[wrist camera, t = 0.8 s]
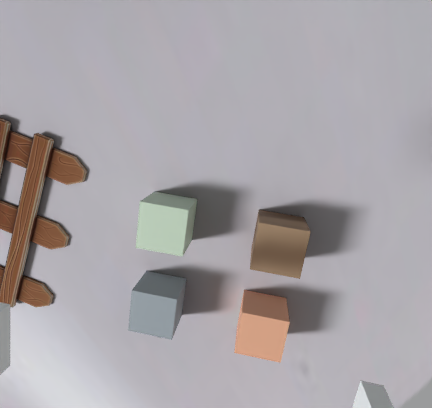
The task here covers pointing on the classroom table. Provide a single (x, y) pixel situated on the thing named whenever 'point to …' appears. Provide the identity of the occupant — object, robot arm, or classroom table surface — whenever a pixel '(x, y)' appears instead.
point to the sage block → (166, 223)
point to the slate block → (157, 304)
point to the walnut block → (279, 244)
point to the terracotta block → (262, 326)
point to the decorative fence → (31, 210)
